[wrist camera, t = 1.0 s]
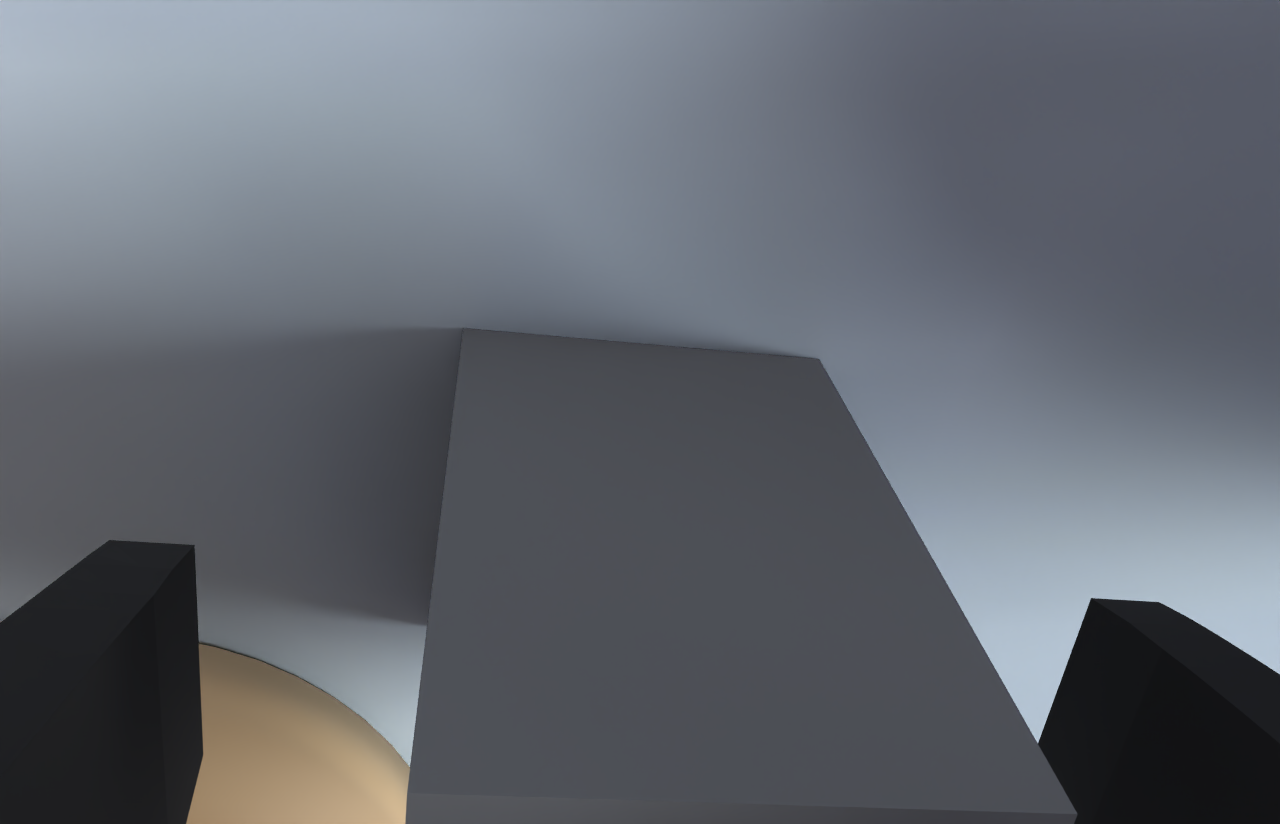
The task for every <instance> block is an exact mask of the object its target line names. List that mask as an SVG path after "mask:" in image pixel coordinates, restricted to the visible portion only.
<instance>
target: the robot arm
mask: <svg viewBox="0 0 1280 824" xmlns="http://www.w3.org/2000/svg"><path fill="white" fill-rule="evenodd" d="M1038 745H1039V747H1040V749H1041V750H1042V752H1043V754H1044V756H1045V758H1046V759H1047V761H1048V763H1049V765H1050V766H1051V768H1052V770H1053V772H1054V773H1055V775H1056V777H1057V779H1058V780H1059V782H1060V784H1061V786H1062V787H1063V789H1064V791H1065V793H1066V794H1067V796H1068V798H1069V800H1070V802H1071V803H1072V805H1073V807H1074V809H1075V810H1076V812H1077V814H1078V815H1077V817H1076V820H1075V822H1074V824H1280V674H1278V673H1277V672H1275V671H1273V670H1272V669H1270V668H1269V667H1267V666H1266V665H1264V664H1263V663H1261V662H1260V661H1258V660H1256V659H1255V658H1253V657H1252V656H1250V655H1249V654H1247V653H1245V652H1244V651H1242V650H1241V649H1239V648H1237V647H1236V646H1234V645H1233V644H1231V643H1229V642H1228V641H1226V640H1225V639H1223V638H1222V637H1220V636H1218V635H1217V634H1215V633H1213V632H1212V631H1210V630H1208V629H1207V628H1205V627H1203V626H1202V625H1200V624H1198V623H1196V622H1195V621H1193V620H1191V619H1189V618H1188V617H1186V616H1184V615H1182V614H1180V613H1178V612H1177V611H1175V610H1173V609H1171V608H1169V607H1167V606H1165V605H1163V604H1161V603H1159V602H1146V601H1129V600H1112V599H1095V598H1091V600H1090V603H1089V606H1088V608H1087V611H1086V614H1085V617H1084V619H1083V622H1082V625H1081V628H1080V630H1079V633H1078V636H1077V638H1076V641H1075V644H1074V647H1073V649H1072V652H1071V655H1070V658H1069V660H1068V663H1067V666H1066V669H1065V671H1064V674H1063V677H1062V680H1061V682H1060V685H1059V688H1058V690H1057V693H1056V696H1055V699H1054V701H1053V704H1052V707H1051V710H1050V712H1049V715H1048V718H1047V721H1046V723H1045V726H1044V729H1043V731H1042V734H1041V737H1040V740H1039V742H1038ZM202 758H203V734H202V710H201V687H200V664H199V641H198V618H197V594H196V571H195V548H194V545H182V544H165V543H148V542H131V541H114V540H109V541H108V542H106V543H105V544H104V545H102V546H101V547H99V548H98V549H97V550H95V551H94V552H92V553H91V554H90V555H88V556H87V557H86V558H84V559H83V560H82V561H80V562H79V563H78V564H76V565H75V566H74V567H73V568H71V569H70V570H69V571H67V572H66V573H65V574H63V575H62V576H61V577H60V578H58V579H57V580H56V581H54V582H53V583H52V584H50V585H49V586H48V587H46V588H45V589H44V590H43V591H41V592H40V593H39V594H37V595H36V596H35V597H33V598H32V599H31V600H29V601H28V602H27V603H26V604H24V605H23V606H22V607H20V608H19V609H18V610H16V611H15V612H14V613H13V614H11V615H10V616H9V617H7V618H6V619H5V620H3V621H2V622H1V623H0V824H186V822H187V818H188V814H189V810H190V806H191V802H192V798H193V794H194V790H195V786H196V782H197V778H198V774H199V770H200V766H201V762H202Z"/></svg>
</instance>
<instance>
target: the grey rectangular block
mask: <svg viewBox="0 0 1280 824" xmlns="http://www.w3.org/2000/svg"><path fill="white" fill-rule="evenodd" d="M1077 815H1078V814H1077V812H1076V810H1075V809H1074V807H1073V805H1072V803H1071V802H1070V800H1069V798H1068V796H1067V794H1066V793H1065V791H1064V789H1063V787H1062V786H1061V784H1060V782H1059V780H1058V779H1057V777H1056V775H1055V773H1054V772H1053V770H1052V768H1051V766H1050V765H1049V763H1048V761H1047V759H1046V758H1045V756H1044V754H1043V752H1042V750H1041V749H1040V747H1039V745H1038V743H1037V742H1036V740H1035V738H1034V736H1033V735H1032V733H1031V731H1030V729H1029V728H1028V726H1027V724H1026V722H1025V721H1024V719H1023V717H1022V715H1021V714H1020V712H1019V710H1018V708H1017V706H1016V705H1015V703H1014V701H1013V699H1012V698H1011V696H1010V694H1009V692H1008V691H1007V689H1006V687H1005V685H1004V684H1003V682H1002V680H1001V678H1000V677H999V675H998V673H997V671H996V670H995V668H994V666H993V664H992V663H991V661H990V659H989V657H988V655H987V654H986V652H985V650H984V648H983V647H982V645H981V643H980V641H979V640H978V638H977V636H976V634H975V633H974V631H973V629H972V627H971V626H970V624H969V622H968V620H967V619H966V617H965V615H964V613H963V611H962V610H961V608H960V606H959V604H958V603H957V601H956V599H955V597H954V596H953V594H952V592H951V590H950V589H949V587H948V585H947V583H946V582H945V580H944V578H943V576H942V575H941V573H940V571H939V569H938V567H937V566H936V564H935V562H934V560H933V559H932V557H931V555H930V553H929V552H928V550H927V548H926V546H925V545H924V543H923V541H922V539H921V538H920V536H919V534H918V532H917V531H916V529H915V527H914V525H913V523H912V522H911V520H910V518H909V516H908V515H907V513H906V511H905V509H904V508H903V506H902V504H901V502H900V501H899V499H898V497H897V495H896V494H895V492H894V490H893V488H892V487H891V485H890V483H889V481H888V479H887V478H886V476H885V474H884V472H883V471H882V469H881V467H880V465H879V464H878V462H877V460H876V458H875V457H874V455H873V453H872V451H871V450H870V448H869V446H868V444H867V443H866V441H865V439H864V437H863V435H862V434H861V432H860V430H859V428H858V427H857V425H856V423H855V421H854V420H853V418H852V416H851V414H850V413H849V411H848V409H847V407H846V406H845V404H844V402H843V400H842V399H841V397H840V395H839V393H838V391H837V390H836V388H835V386H834V384H833V383H832V381H831V379H830V377H829V376H828V374H827V372H826V370H825V369H824V367H823V365H822V363H821V362H820V360H819V359H812V358H800V357H789V356H777V355H766V354H754V353H743V352H731V351H720V350H708V349H697V348H685V347H674V346H662V345H651V344H639V343H628V342H616V341H605V340H593V339H582V338H570V337H559V336H547V335H536V334H524V333H513V332H502V331H490V330H479V329H467V328H463V333H462V341H461V350H460V358H459V366H458V375H457V383H456V391H455V400H454V408H453V416H452V424H451V433H450V441H449V449H448V458H447V466H446V474H445V483H444V491H443V499H442V507H441V516H440V524H439V532H438V541H437V549H436V557H435V566H434V574H433V582H432V590H431V599H430V607H429V615H428V624H427V632H426V640H425V649H424V657H423V665H422V673H421V682H420V690H419V698H418V707H417V715H416V723H415V732H414V740H413V748H412V756H411V765H410V773H409V781H408V790H407V803H406V820H405V824H1074V822H1075V820H1076V817H1077Z"/></svg>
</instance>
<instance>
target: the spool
mask: <svg viewBox="0 0 1280 824" xmlns="http://www.w3.org/2000/svg"><path fill="white" fill-rule="evenodd" d="M199 664H200V687H201V710H202V734H203V758H202V762H201V766H200V770H199V774H198V778H197V782H196V786H195V790H194V794H193V798H192V802H191V806H190V810H189V814H188V818H187V822H186V824H405V820H406V803H407V790H408V781H409V773H410V767H409V766H408V765H407V764H406V762H405V761H404V760H403V759H402V757H401V756H400V755H399V754H398V752H397V751H396V750H395V749H394V747H393V746H392V745H391V744H390V743H389V742H388V741H387V740H386V739H385V738H384V737H383V736H382V735H380V734H379V733H378V732H377V731H376V730H375V729H374V728H373V727H372V726H371V725H370V724H369V723H368V722H367V721H366V720H364V719H363V718H362V717H360V716H359V715H358V714H356V713H355V712H353V711H352V710H351V709H349V708H348V707H347V706H345V705H344V704H342V703H341V702H340V701H338V700H337V699H336V698H334V697H332V696H331V695H329V694H327V693H325V692H324V691H322V690H320V689H318V688H316V687H315V686H313V685H311V684H309V683H308V682H306V681H304V680H302V679H300V678H299V677H297V676H294V675H292V674H289V673H287V672H285V671H282V670H280V669H278V668H275V667H273V666H271V665H268V664H266V663H264V662H261V661H259V660H256V659H253V658H249V657H246V656H243V655H240V654H236V653H233V652H230V651H227V650H223V649H220V648H217V647H212V646H207V645H202V644H199Z"/></svg>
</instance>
